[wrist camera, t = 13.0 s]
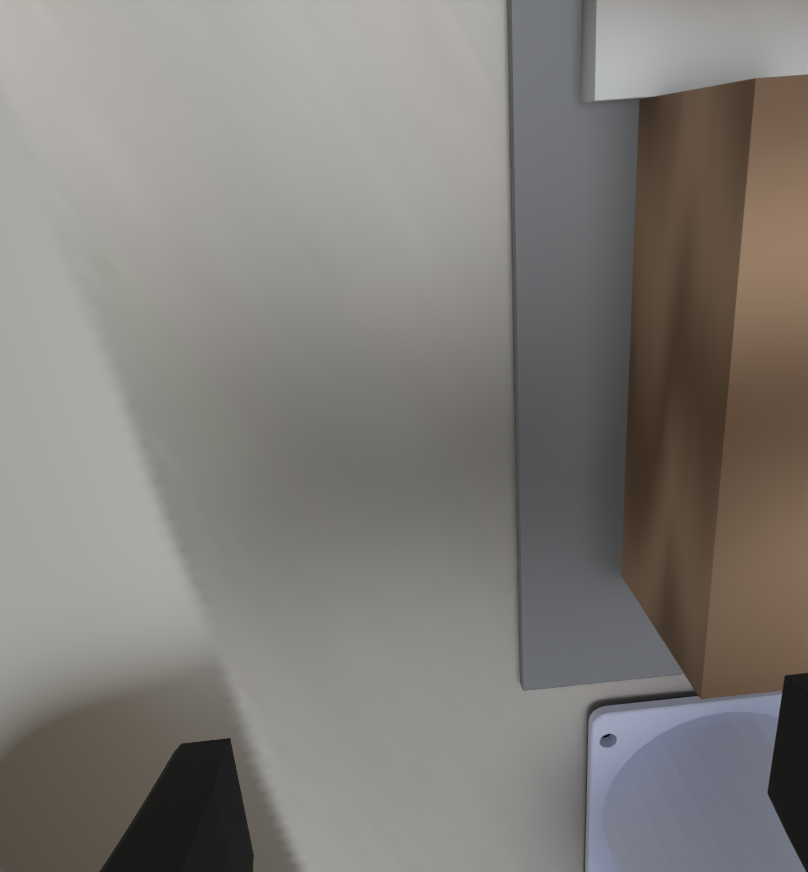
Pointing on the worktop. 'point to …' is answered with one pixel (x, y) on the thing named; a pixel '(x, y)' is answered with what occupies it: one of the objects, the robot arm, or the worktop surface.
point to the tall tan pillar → (716, 328)
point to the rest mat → (572, 360)
